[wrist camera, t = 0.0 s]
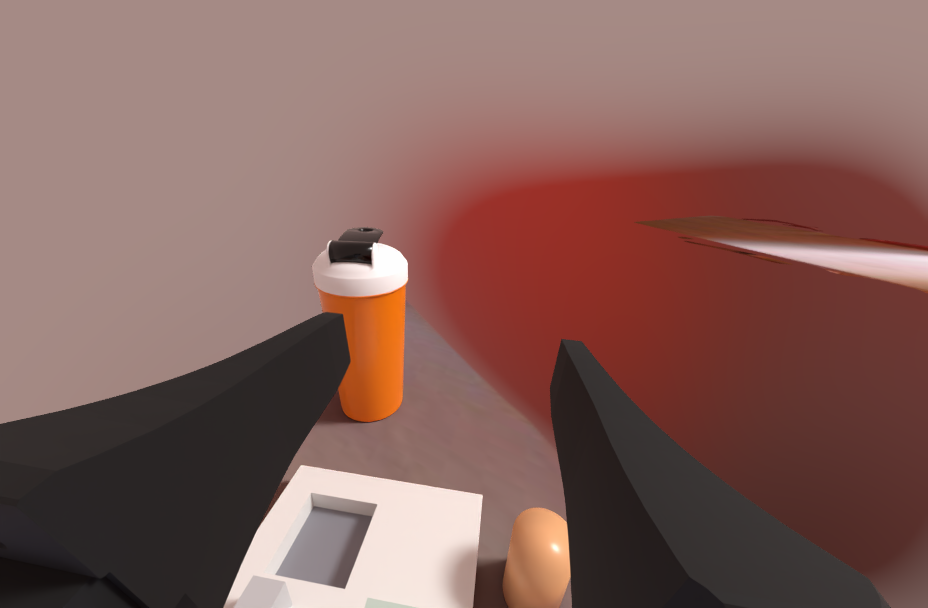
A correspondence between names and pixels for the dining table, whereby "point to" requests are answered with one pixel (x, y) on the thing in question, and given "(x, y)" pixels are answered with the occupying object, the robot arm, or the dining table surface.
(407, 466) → the dining table surface
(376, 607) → the block
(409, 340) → the dining table surface
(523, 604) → the peg
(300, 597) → the housing
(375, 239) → the shaker bottle
